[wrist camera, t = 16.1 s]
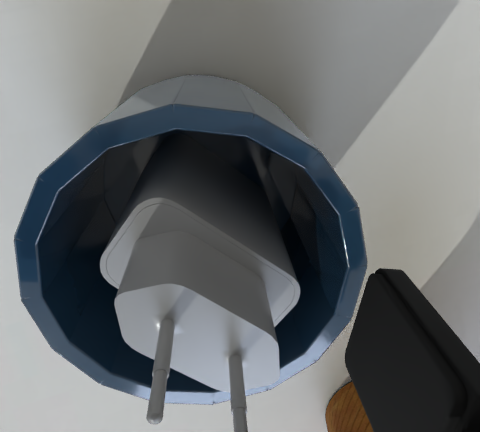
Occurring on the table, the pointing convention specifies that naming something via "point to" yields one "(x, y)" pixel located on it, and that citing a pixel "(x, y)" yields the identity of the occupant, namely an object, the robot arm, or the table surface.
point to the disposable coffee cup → (347, 412)
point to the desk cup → (118, 194)
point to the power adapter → (200, 275)
